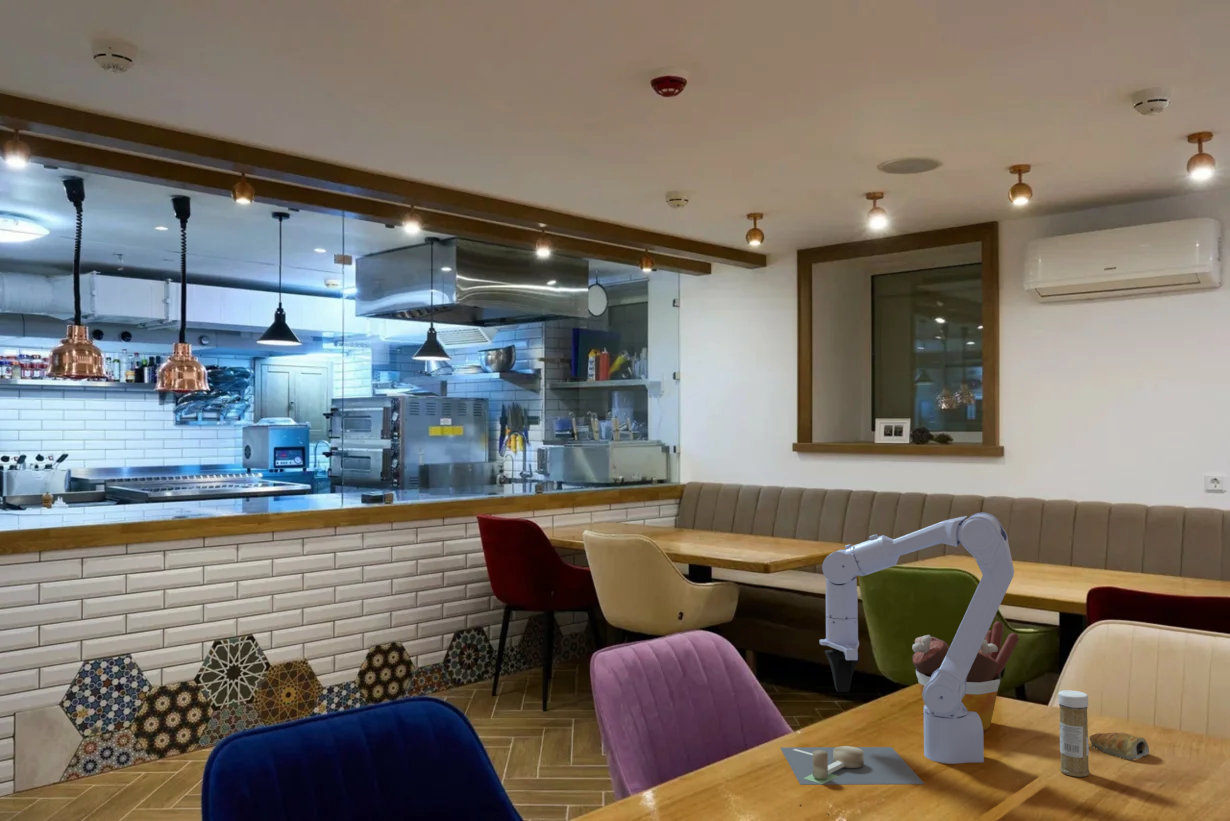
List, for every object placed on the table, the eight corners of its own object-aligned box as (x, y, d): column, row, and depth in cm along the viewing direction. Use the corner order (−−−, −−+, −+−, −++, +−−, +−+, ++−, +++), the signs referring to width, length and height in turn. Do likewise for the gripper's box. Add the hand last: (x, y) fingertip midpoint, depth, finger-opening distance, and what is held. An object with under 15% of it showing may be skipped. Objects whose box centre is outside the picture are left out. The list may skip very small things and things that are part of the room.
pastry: (1081, 748, 173) (1081, 727, 173) (1101, 742, 177) (1101, 721, 177) (1133, 763, 165) (1133, 741, 165) (1153, 756, 169) (1153, 734, 169)
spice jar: (1094, 774, 159) (1093, 693, 160) (1079, 779, 157) (1078, 698, 157) (1069, 766, 163) (1067, 687, 164) (1053, 771, 161) (1052, 691, 161)
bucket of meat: (935, 740, 177) (933, 633, 178) (895, 715, 193) (894, 617, 194) (1033, 734, 180) (1031, 629, 181) (985, 710, 197) (984, 613, 197)
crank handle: (842, 755, 164) (842, 733, 164) (869, 762, 161) (868, 739, 161) (803, 774, 155) (802, 750, 155) (829, 782, 152) (829, 758, 152)
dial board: (891, 753, 170) (891, 746, 170) (924, 791, 152) (924, 783, 152) (780, 754, 170) (780, 747, 170) (800, 792, 152) (800, 784, 152)
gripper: (811, 609, 181) (812, 680, 180) (829, 624, 166) (829, 702, 166) (848, 609, 181) (849, 680, 180) (869, 624, 166) (869, 702, 166)
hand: (842, 691), depth 173 cm, fingers closed
